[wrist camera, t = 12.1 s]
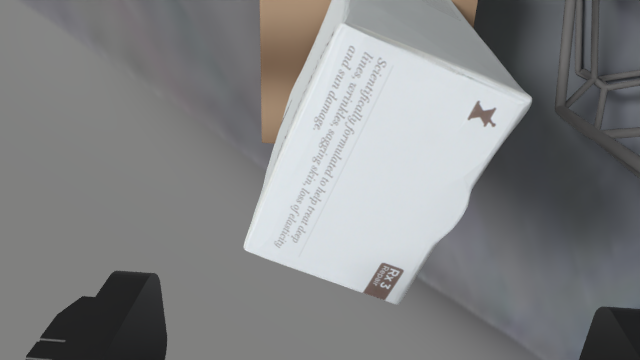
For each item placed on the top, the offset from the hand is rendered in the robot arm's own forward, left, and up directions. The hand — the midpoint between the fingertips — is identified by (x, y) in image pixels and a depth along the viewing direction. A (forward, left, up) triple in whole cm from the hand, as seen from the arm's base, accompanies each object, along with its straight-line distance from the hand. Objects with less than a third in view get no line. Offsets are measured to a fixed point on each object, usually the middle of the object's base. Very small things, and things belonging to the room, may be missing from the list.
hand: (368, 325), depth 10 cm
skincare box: (0, 0, -21) cm, 21 cm away
